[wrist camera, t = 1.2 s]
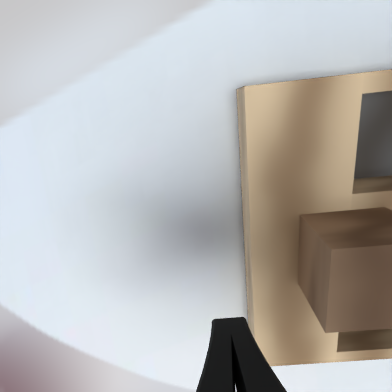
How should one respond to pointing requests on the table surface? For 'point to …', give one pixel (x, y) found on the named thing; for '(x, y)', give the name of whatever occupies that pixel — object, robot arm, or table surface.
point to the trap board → (308, 199)
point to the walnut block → (347, 268)
